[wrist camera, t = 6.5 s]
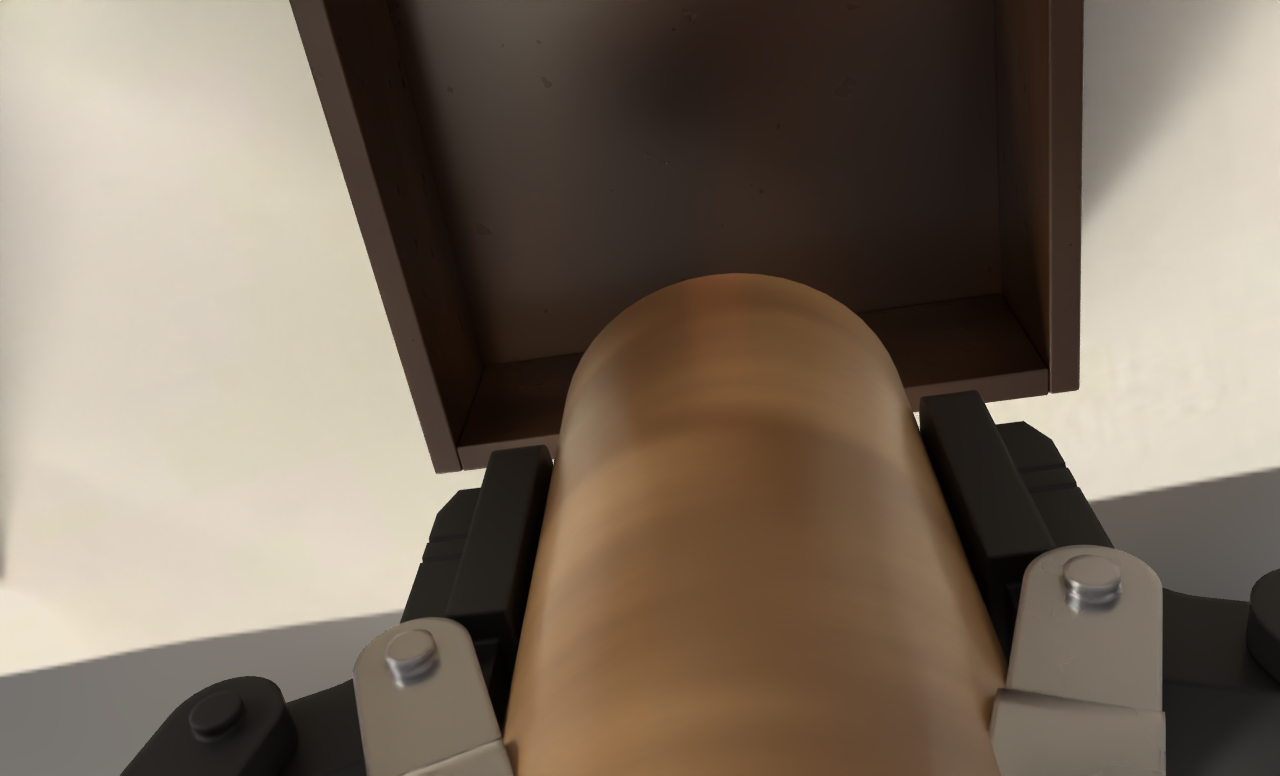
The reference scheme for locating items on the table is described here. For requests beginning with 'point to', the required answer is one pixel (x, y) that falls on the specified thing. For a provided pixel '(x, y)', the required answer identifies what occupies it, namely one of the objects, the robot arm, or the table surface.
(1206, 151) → the table surface
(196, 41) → the table surface
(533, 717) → the pepper mill
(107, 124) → the table surface
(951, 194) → the tray
